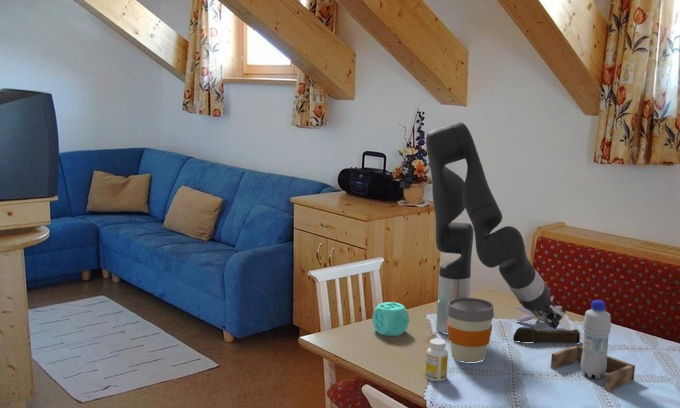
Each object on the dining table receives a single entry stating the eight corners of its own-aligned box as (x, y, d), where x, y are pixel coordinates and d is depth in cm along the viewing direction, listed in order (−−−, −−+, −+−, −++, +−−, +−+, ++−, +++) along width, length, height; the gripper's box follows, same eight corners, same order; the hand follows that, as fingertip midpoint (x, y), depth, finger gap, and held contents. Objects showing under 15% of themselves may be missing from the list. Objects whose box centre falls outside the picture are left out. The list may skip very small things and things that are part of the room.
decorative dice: (409, 333, 209) (409, 307, 208) (388, 338, 204) (388, 312, 203) (392, 325, 215) (393, 300, 214) (371, 330, 211) (372, 304, 210)
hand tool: (576, 340, 205) (577, 325, 205) (580, 345, 201) (581, 330, 201) (511, 339, 206) (512, 324, 205) (514, 344, 202) (515, 328, 201)
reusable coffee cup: (462, 345, 200) (465, 294, 197) (500, 357, 191) (503, 304, 188) (435, 356, 191) (437, 303, 188) (473, 370, 182) (476, 315, 180)
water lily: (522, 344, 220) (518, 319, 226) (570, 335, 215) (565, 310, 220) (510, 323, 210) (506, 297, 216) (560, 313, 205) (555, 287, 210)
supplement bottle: (427, 382, 174) (429, 345, 173) (423, 373, 180) (424, 337, 178) (449, 381, 175) (450, 345, 173) (443, 372, 180) (445, 337, 179)
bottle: (574, 370, 183) (580, 296, 180) (599, 369, 184) (605, 296, 180) (586, 380, 177) (592, 305, 173) (611, 380, 177) (618, 304, 174)
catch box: (608, 391, 171) (609, 375, 170) (550, 368, 184) (551, 353, 184) (633, 380, 177) (635, 365, 177) (576, 358, 191) (577, 345, 190)
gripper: (498, 291, 169) (526, 328, 179) (542, 308, 159) (569, 347, 169) (515, 267, 171) (541, 304, 181) (560, 283, 161) (585, 322, 171)
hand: (555, 325), depth 175 cm, fingers closed
